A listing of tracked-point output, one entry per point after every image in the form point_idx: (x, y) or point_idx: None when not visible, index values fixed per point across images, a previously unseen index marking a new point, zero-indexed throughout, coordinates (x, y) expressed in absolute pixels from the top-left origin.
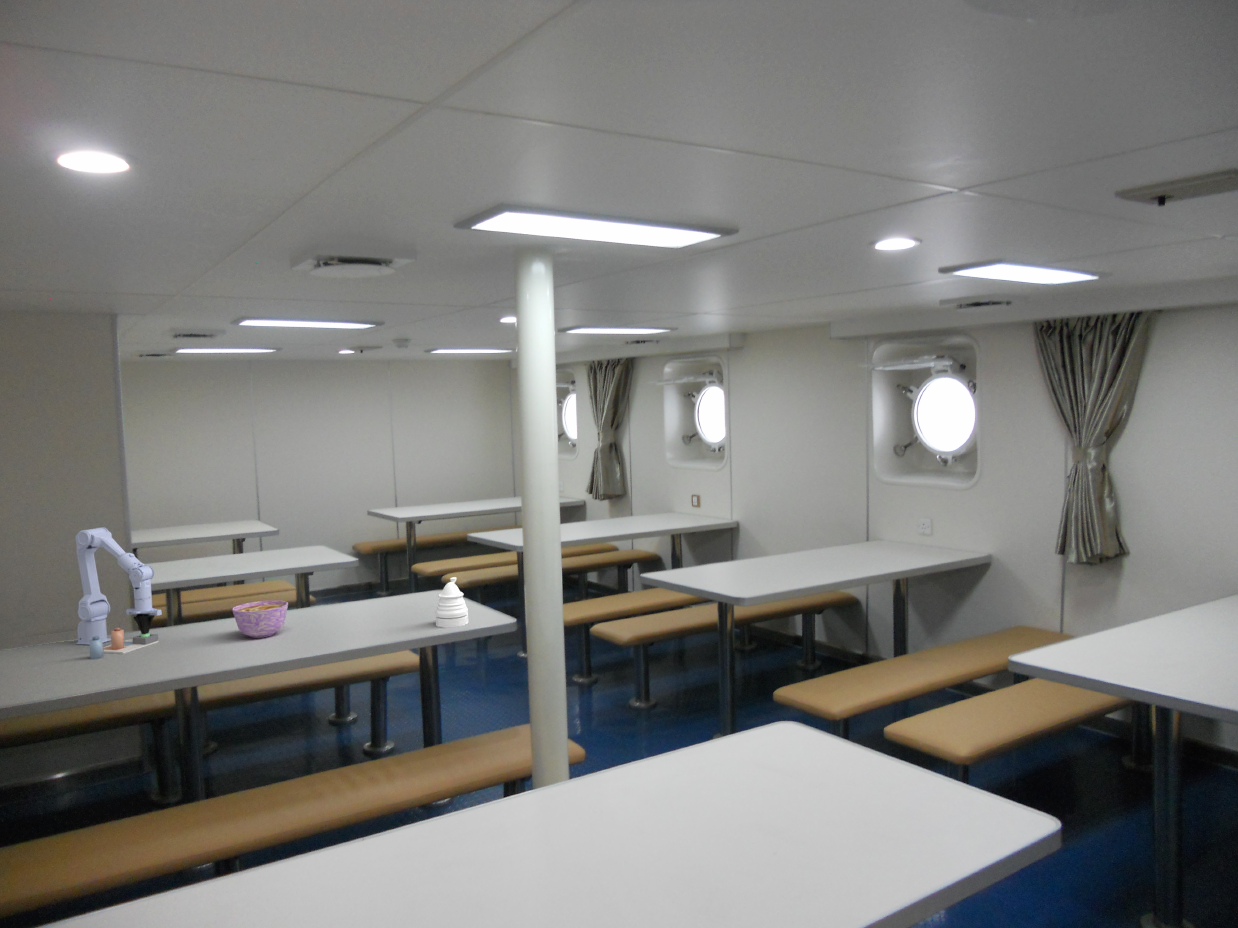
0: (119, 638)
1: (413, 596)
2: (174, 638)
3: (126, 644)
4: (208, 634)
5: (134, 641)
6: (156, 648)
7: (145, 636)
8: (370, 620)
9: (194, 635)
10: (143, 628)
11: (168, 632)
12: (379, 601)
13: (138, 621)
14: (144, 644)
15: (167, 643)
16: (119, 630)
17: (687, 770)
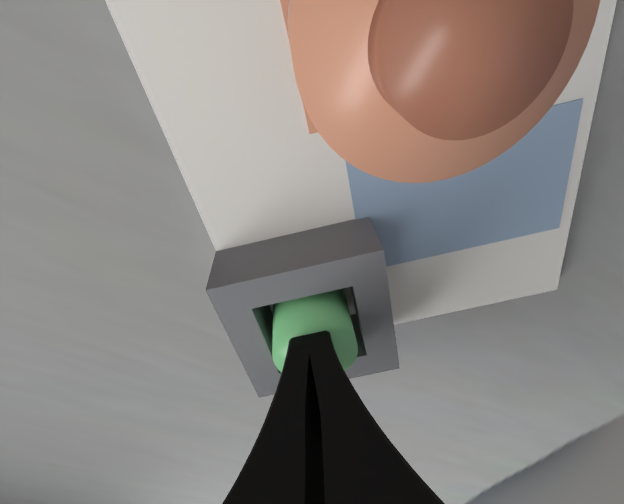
0: (290, 1)
1: None
2: (257, 415)
3: None
4: (163, 500)
5: (351, 234)
6: (26, 238)
7: (276, 321)
8: None
9: (214, 473)
10: (280, 389)
11: (438, 450)
12: None
13: (346, 476)
14: (230, 248)
15: (148, 348)
16: (372, 62)
17: None
